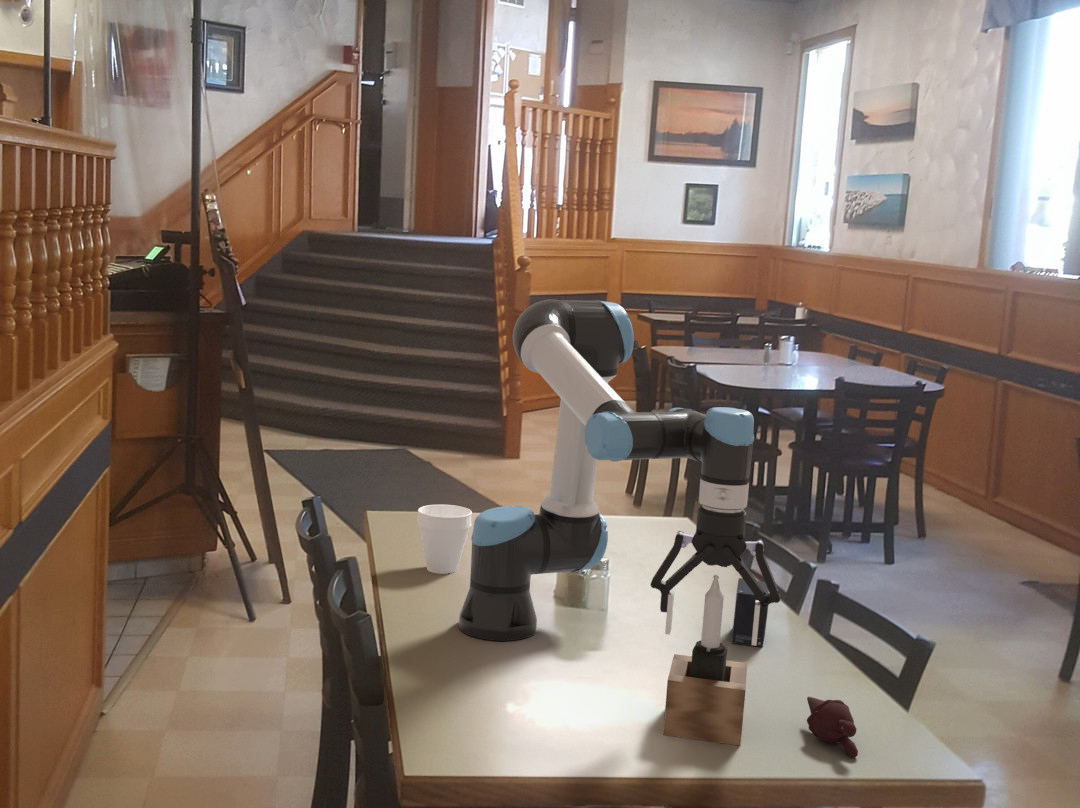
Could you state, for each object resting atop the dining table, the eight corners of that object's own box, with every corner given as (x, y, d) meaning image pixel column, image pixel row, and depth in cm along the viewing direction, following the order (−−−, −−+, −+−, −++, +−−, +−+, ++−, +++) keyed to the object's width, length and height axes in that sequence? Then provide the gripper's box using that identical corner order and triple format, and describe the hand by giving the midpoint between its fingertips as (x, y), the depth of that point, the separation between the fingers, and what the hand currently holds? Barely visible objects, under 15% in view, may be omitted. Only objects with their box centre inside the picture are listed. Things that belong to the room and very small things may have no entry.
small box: (764, 648, 227) (769, 596, 225) (730, 644, 228) (735, 592, 227) (765, 631, 237) (770, 580, 236) (732, 627, 238) (737, 577, 237)
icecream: (785, 685, 191) (830, 731, 177) (826, 672, 193) (874, 717, 178) (789, 722, 193) (834, 771, 179) (830, 709, 195) (878, 757, 180)
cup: (479, 569, 268) (483, 510, 266) (447, 581, 257) (450, 520, 255) (437, 558, 274) (439, 501, 272) (403, 569, 264) (406, 510, 262)
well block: (663, 734, 184) (667, 680, 183) (669, 705, 196) (674, 654, 195) (740, 745, 182) (745, 690, 181) (742, 715, 194) (747, 663, 192)
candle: (721, 721, 191) (734, 572, 187) (716, 733, 186) (729, 581, 182) (690, 716, 192) (703, 568, 189) (684, 728, 187) (697, 576, 184)
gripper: (640, 503, 182) (630, 634, 186) (804, 521, 178) (790, 655, 181) (645, 493, 190) (635, 619, 193) (803, 510, 185) (790, 639, 188)
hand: (710, 637), depth 187 cm, fingers open, 13 cm apart
